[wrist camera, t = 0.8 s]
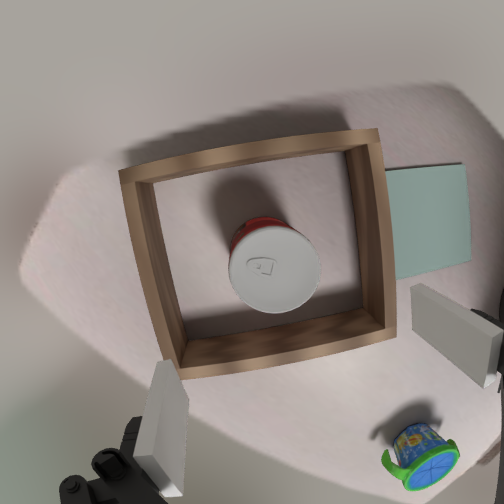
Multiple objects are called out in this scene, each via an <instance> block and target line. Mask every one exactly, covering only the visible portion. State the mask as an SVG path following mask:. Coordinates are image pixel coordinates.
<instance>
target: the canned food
mask: <svg viewBox="0 0 504 504" xmlns="http://www.w3.org/2000/svg"><path fill="white" fill-rule="evenodd" d="M228 266H229V267H228V269H229V278H230V281H231V285H232V287H233V289H234V291H235V292H236V294H237V295H238V297H239V298H240V299H241V300H242V301H243V302H244V303H246V304H247V305H248V306H250V307H252V308H254V309H256V310H258V311H262V312H265V313H284V312H288V311H291V310H293V309H296V308H298V307H300V306H301V305H302V304H304V303H305V302H306V301H307V300H308V299H309V298H310V297H311V296H312V295H313V293H314V292H315V290H316V288H317V286H318V284H319V281H320V275H321V264H320V260H319V256H318V254H317V252H316V249H315V248H314V246H313V245H312V244H311V242H310V241H309V240H308V239H307V238H306V237H305V236H304V235H302V234H301V233H300V232H298V231H297V230H295V229H293V228H292V227H290V226H289V225H287V224H286V223H284V222H282V221H280V220H278V219H275V218H270V217H259V218H255V219H252V220H249V221H247V222H246V223H244V224H243V225H242V226H241V227H240V228H239V229H238V230H237V231H236V233H235V234H234V236H233V239H232V242H231V249H230V257H229V265H228Z"/></svg>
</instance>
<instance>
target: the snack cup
mask: <svg viewBox="0 0 504 504" xmlns="http://www.w3.org/2000/svg"><path fill="white" fill-rule="evenodd" d="M394 452H395V455H396V458H397V461H398V464H399V466H398V465H396V464H394V463H393V462H391V458H390V455H389V452H388V449H386V450H385V451H384V453H383V455H382V459H381V461H382V464H383V466H384V467H385V468H386V469H387V470H388V471H389V472H390V473H391V474H392V475H393V476H395V477H396V478H398V479H400V480H402V483H403V485H404V487H405V489H406V490H408V491H419V490H422V489H425V488H428V487H430V486H432V485H433V484H435V483H437V482H438V481H440V480H441V479H442V478H444V477H445V476H446V475H447V474H448V473H449V472H450V471H451V470H452V469H453V467H454V466H455V464H456V463H457V460H458V459H459V457H460V453H459V450H458V448H457V446H456V443H455V442H454V441H453V440H452V439H449V440H447V442H446V441H445V440H444V439H442V437H440V436H439V435H438V434H437V433H436V432H435V431H434V430H433V429H431V428H430V427H429V426H428V425H427V424H422V423H420V424H416V425H413V426H408V427H407V429H406V430H405V431H403V432H402V433H401V434H400V435H399V436H398V437H397V438H396V439H395V441H394Z"/></svg>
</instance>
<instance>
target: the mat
mask: <svg viewBox="0 0 504 504" xmlns="http://www.w3.org/2000/svg"><path fill="white" fill-rule="evenodd" d="M385 174H386V180H387V188H388V195H389V203H390V212H391V222H392V232H393V244H394V258H395V276H396V280H398V279H402V278H407V277H411V276H415V275H418V274H422V273H426V272H430V271H434V270H438V269H442V268H445V267H449V266H453V265H456V264H460V263H464V262H467V261H471V228H470V210H469V197H468V187H467V178H466V170H465V164H462V165H447V166H435V167H423V168H412V169H402V170H392V171H385Z"/></svg>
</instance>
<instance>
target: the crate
mask: <svg viewBox="0 0 504 504" xmlns="http://www.w3.org/2000/svg"><path fill="white" fill-rule="evenodd" d="M341 151H345V154H346V160H347V166H348V172H349V179H350V185H351V192H352V199H353V206H354V214H355V222H356V230H357V239H358V249H359V259H360V270H361V283H362V297H363V308H360V309H356V310H352V311H348V312H343V313H339V314H334V315H330V316H325V317H321V318H316V319H311V320H306V321H302V322H297V323H292V324H286V325H281V326H276V327H271V328H265V329H260V330H254V331H248V332H242V333H237V334H230V335H224V336H218V337H211V338H205V339H198V340H191V341H188V338H187V335H186V331H185V327H184V323H183V320H182V316H181V312H180V308H179V304H178V300H177V296H176V292H175V288H174V284H173V279H172V275H171V271H170V266H169V262H168V258H167V253H166V248H165V244H164V239H163V234H162V229H161V224H160V219H159V214H158V209H157V204H156V198H155V193H154V187H153V183H156V182H160V181H165V180H169V179H174V178H178V177H183V176H188V175H193V174H198V173H203V172H208V171H213V170H218V169H224V168H229V167H235V166H241V165H247V164H253V163H259V162H265V161H272V160H278V159H285V158H292V157H300V156H307V155H315V154H323V153H332V152H341ZM118 172H119V178H120V184H121V190H122V196H123V201H124V207H125V212H126V217H127V222H128V227H129V232H130V237H131V241H132V246H133V250H134V255H135V259H136V263H137V267H138V272H139V276H140V280H141V284H142V287H143V291H144V295H145V299H146V303H147V306H148V310H149V313H150V317H151V320H152V324H153V327H154V331H155V334H156V337H157V341H158V344H159V347H160V350H161V353H162V356H163V359H164V360H168V359H171V360H172V362H173V364H174V367H175V369H176V371H177V374H178V376H179V378H180V380H187V379H196V378H204V377H212V376H219V375H226V374H233V373H239V372H246V371H252V370H258V369H263V368H269V367H274V366H280V365H285V364H290V363H295V362H300V361H305V360H309V359H314V358H318V357H323V356H327V355H331V354H336V353H340V352H344V351H348V350H352V349H356V348H359V347H363V346H367V345H371V344H374V343H378V342H381V341H385V340H388V339H392V338H395V337H396V335H397V310H396V276H395V258H394V244H393V232H392V222H391V212H390V203H389V195H388V188H387V180H386V174H385V167H384V161H383V155H382V149H381V143H380V138H379V133H378V128H374V129H358V130H346V131H334V132H324V133H314V134H306V135H297V136H289V137H282V138H274V139H267V140H261V141H254V142H248V143H242V144H236V145H230V146H225V147H219V148H214V149H209V150H203V151H198V152H194V153H189V154H184V155H179V156H175V157H170V158H166V159H162V160H157V161H153V162H149V163H145V164H141V165H137V166H133V167H129V168H125V169H122V170H118Z"/></svg>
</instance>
